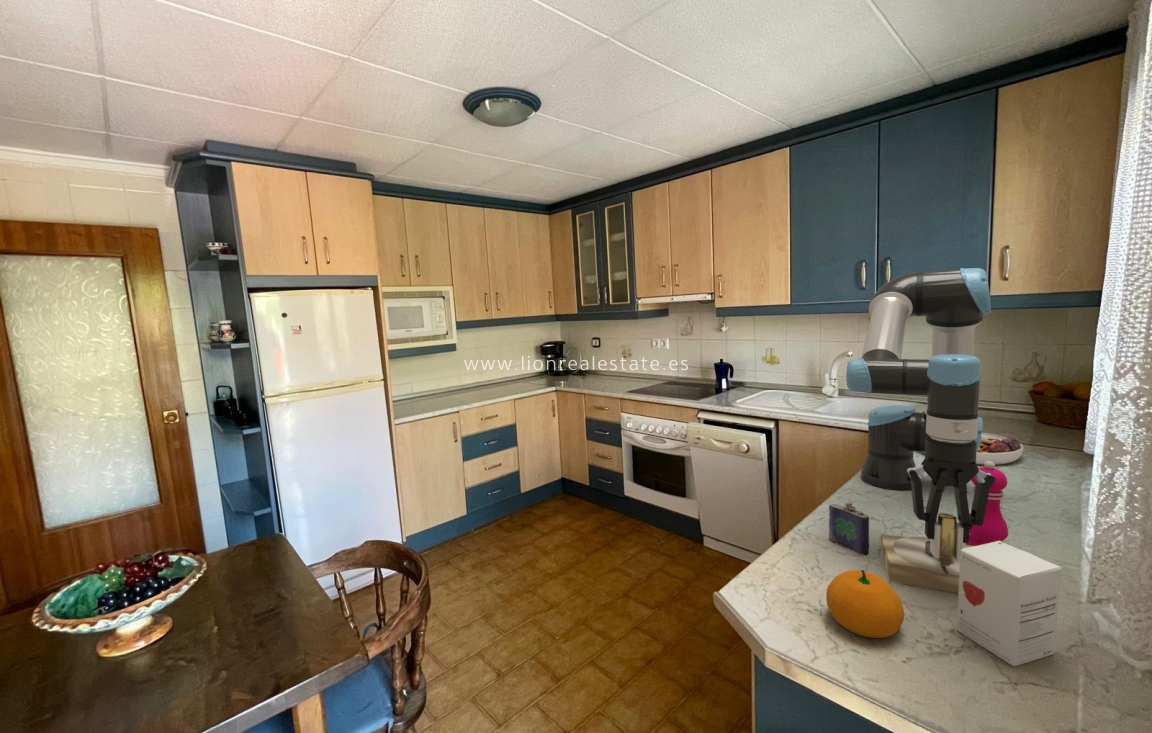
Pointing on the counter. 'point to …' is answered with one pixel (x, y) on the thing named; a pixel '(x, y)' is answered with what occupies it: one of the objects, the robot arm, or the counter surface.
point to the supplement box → (1008, 601)
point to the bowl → (997, 449)
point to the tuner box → (917, 564)
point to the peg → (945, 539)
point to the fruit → (865, 604)
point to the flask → (849, 528)
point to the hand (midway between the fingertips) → (945, 555)
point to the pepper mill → (991, 511)
